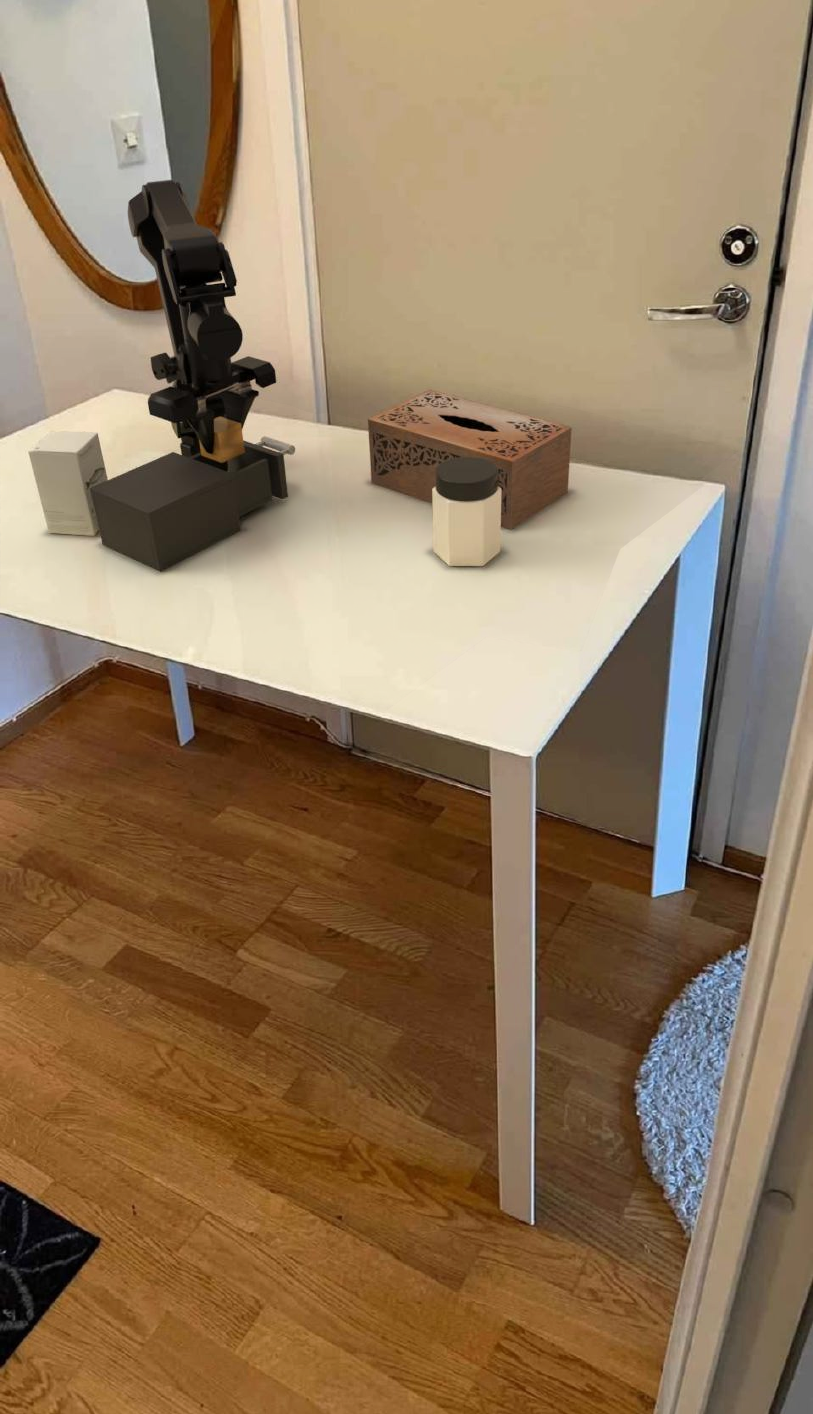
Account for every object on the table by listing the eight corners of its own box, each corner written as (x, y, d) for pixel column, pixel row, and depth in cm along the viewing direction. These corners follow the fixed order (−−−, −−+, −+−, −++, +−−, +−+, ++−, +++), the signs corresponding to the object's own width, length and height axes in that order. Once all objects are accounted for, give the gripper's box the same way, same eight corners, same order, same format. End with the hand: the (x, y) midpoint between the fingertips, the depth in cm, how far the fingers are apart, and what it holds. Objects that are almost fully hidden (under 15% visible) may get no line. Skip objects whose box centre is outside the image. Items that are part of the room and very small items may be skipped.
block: (224, 445, 154) (220, 416, 152) (245, 452, 152) (241, 423, 149) (201, 455, 152) (196, 426, 149) (222, 463, 149) (217, 433, 147)
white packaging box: (95, 537, 151) (76, 452, 143) (47, 533, 152) (25, 450, 145) (117, 513, 157) (99, 431, 149) (70, 510, 158) (50, 428, 151)
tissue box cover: (567, 492, 157) (571, 427, 151) (510, 529, 148) (512, 462, 142) (431, 450, 171) (429, 389, 165) (371, 482, 162) (367, 419, 156)
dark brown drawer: (258, 466, 166) (253, 424, 162) (311, 485, 160) (307, 442, 156) (167, 510, 155) (158, 466, 151) (219, 532, 149) (212, 487, 145)
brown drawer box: (182, 506, 158) (173, 451, 153) (241, 530, 151) (232, 473, 146) (102, 544, 149) (89, 488, 144) (160, 571, 142) (148, 513, 137)
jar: (510, 559, 142) (512, 475, 135) (456, 574, 139) (455, 489, 132) (477, 531, 148) (477, 450, 141) (424, 545, 146) (422, 463, 138)
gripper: (217, 308, 152) (232, 414, 161) (111, 344, 141) (134, 456, 150) (272, 322, 146) (284, 431, 155) (166, 361, 135) (186, 476, 144)
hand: (222, 447), depth 151 cm, fingers closed on block, 4 cm apart
